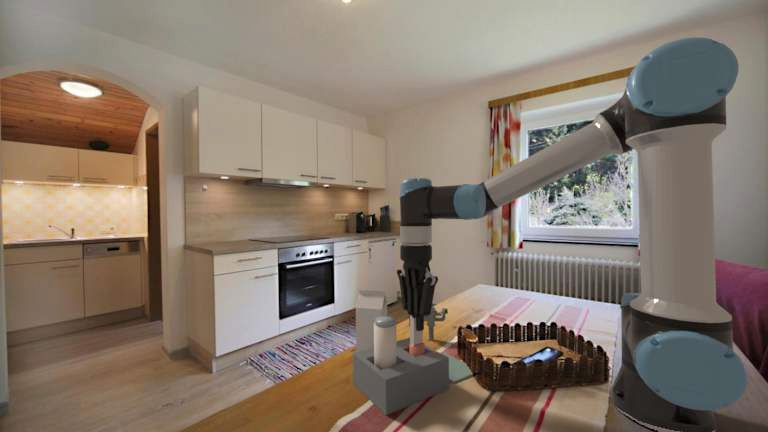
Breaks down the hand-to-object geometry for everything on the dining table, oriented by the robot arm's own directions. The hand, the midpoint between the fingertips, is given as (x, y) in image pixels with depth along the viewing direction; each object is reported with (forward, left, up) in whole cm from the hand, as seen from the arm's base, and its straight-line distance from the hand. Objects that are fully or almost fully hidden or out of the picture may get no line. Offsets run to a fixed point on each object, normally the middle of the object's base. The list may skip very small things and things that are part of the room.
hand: (416, 342), depth 74 cm
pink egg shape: (0, 0, -8) cm, 8 cm away
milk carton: (+15, +4, -9) cm, 18 cm away
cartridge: (0, +9, -9) cm, 13 cm away
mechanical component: (+16, -19, -9) cm, 26 cm away
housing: (0, +5, -9) cm, 10 cm away
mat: (0, -11, -9) cm, 14 cm away
